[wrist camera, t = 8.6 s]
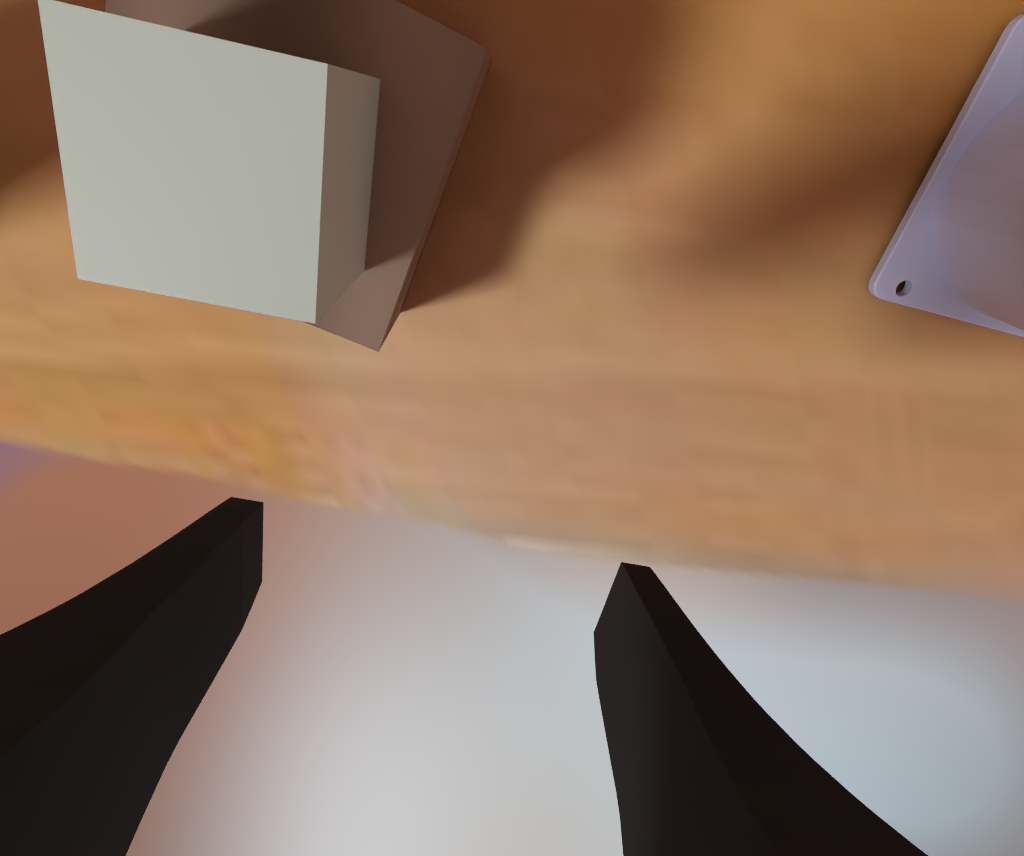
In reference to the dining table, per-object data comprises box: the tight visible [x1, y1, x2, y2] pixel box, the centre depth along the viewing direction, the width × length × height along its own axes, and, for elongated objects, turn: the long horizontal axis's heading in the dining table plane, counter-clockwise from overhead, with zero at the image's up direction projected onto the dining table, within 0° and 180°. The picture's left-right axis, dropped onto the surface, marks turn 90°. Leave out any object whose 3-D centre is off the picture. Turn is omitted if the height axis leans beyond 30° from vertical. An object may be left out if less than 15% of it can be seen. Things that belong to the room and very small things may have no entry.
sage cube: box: [38, 0, 380, 323], centre depth 12 cm, size 4×4×4 cm
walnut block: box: [105, 0, 492, 352], centre depth 16 cm, size 8×8×4 cm
